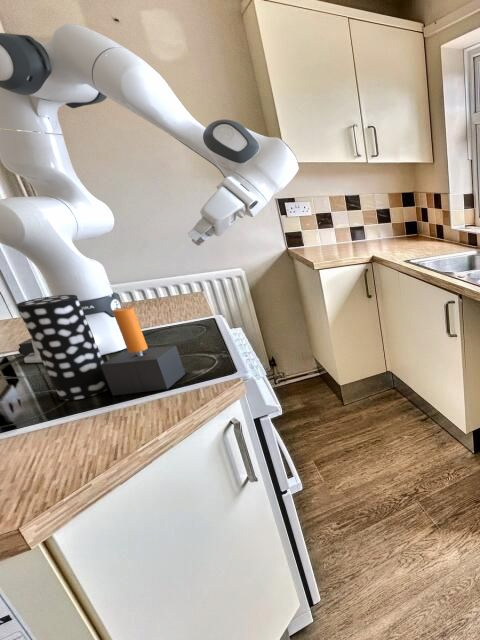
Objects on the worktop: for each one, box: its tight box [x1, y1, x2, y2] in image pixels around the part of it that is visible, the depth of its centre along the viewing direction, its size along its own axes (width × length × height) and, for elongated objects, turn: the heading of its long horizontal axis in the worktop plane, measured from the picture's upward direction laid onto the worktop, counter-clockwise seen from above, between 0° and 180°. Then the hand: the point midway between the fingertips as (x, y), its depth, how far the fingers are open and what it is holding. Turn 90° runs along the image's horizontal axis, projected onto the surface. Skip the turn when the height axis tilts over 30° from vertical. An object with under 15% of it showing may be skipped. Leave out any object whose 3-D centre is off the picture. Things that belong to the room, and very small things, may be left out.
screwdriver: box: [113, 306, 149, 356], centre depth 89 cm, size 3×3×17 cm
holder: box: [100, 345, 186, 396], centre depth 91 cm, size 10×8×7 cm
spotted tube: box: [15, 295, 110, 401], centre depth 86 cm, size 8×8×20 cm
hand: (193, 240), depth 91 cm, fingers open, 8 cm apart
